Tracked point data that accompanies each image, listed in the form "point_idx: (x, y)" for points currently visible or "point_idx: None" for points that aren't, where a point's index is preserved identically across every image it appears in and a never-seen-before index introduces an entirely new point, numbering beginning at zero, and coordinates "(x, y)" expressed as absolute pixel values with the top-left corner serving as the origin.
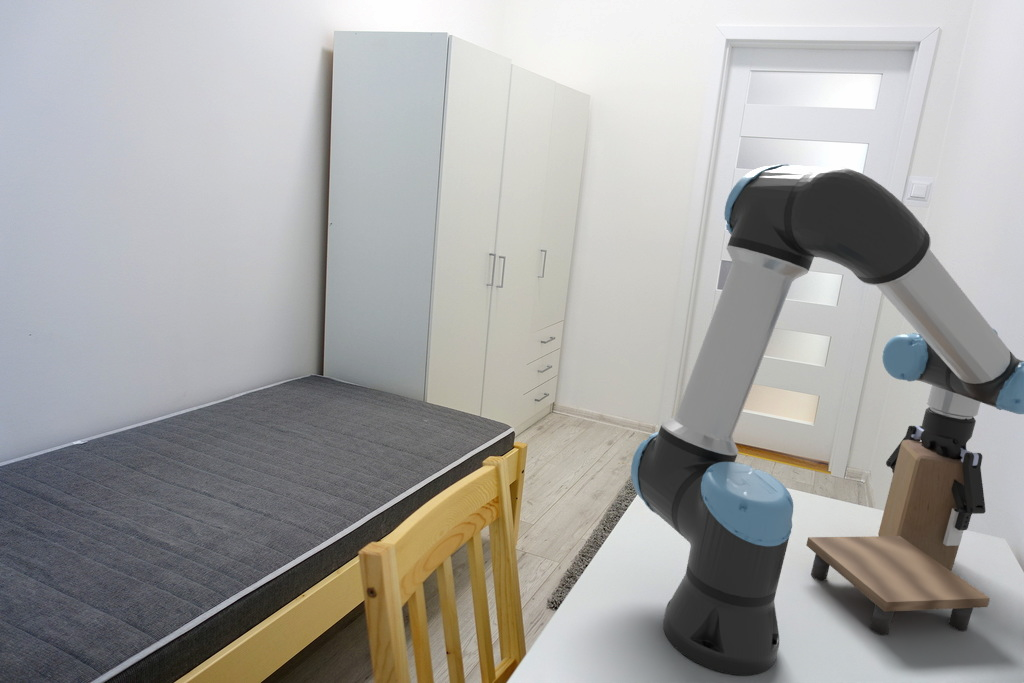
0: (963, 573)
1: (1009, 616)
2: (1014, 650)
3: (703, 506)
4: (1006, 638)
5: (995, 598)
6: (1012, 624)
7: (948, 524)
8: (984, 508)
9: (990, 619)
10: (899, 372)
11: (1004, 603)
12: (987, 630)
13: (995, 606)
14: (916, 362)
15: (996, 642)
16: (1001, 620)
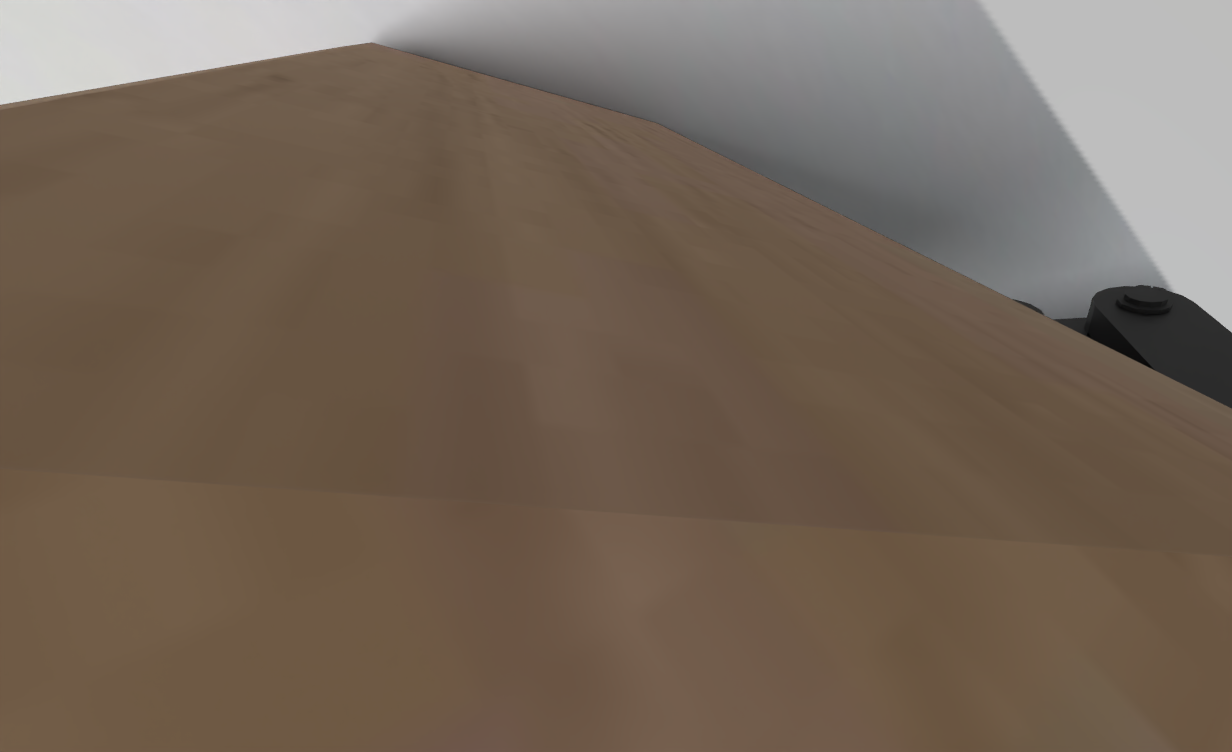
0: (656, 42)
1: (1003, 84)
2: (1136, 242)
3: None
4: (1089, 223)
5: (882, 33)
6: (1044, 120)
7: None
8: (1196, 317)
9: (996, 202)
10: None
11: (923, 14)
12: (1038, 266)
13: (934, 96)
14: None
15: (1090, 279)
16: (1013, 153)
